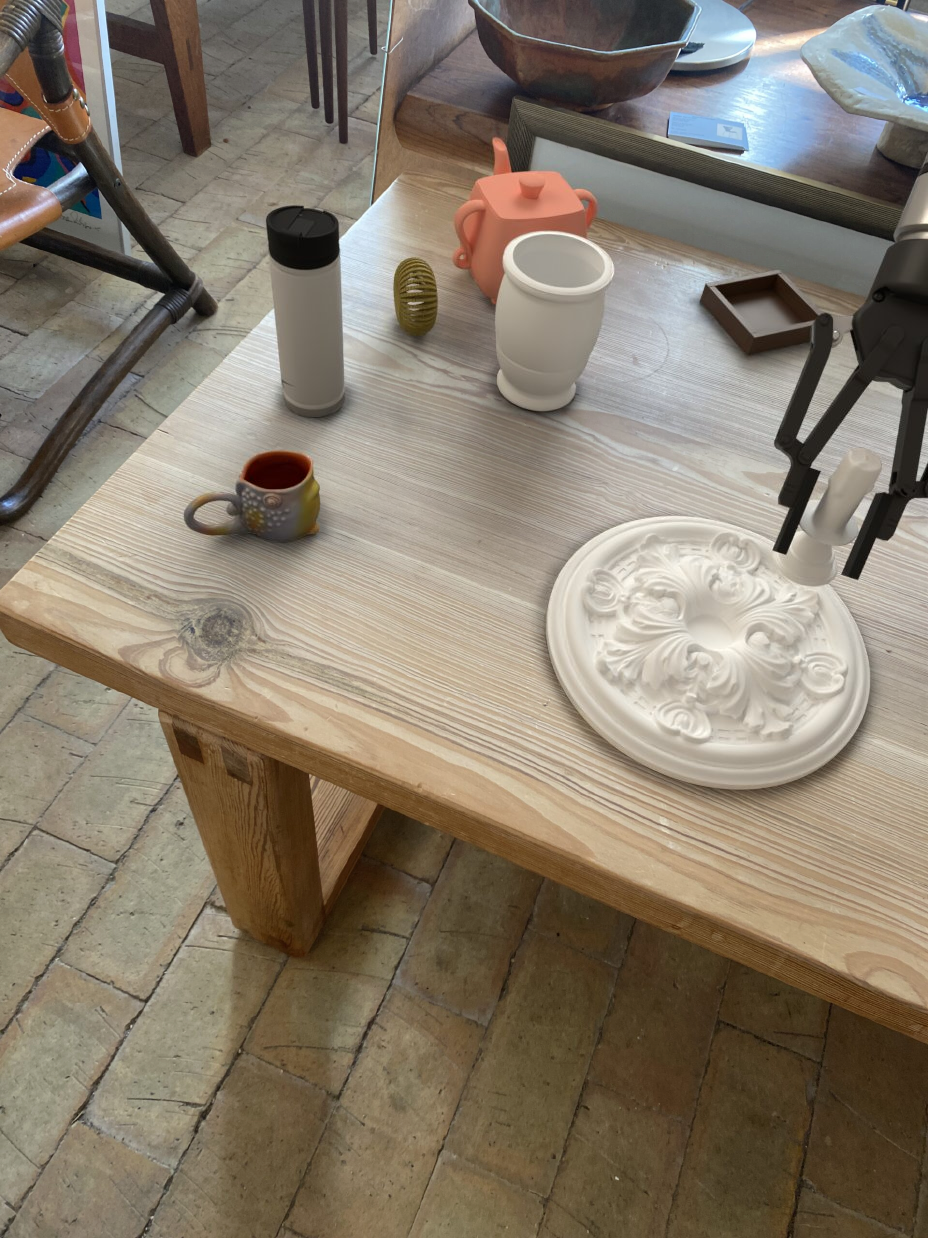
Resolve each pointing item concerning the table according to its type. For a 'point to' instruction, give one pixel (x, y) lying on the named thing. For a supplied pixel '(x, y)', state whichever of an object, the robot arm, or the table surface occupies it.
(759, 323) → the tray
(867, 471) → the candle
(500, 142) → the teapot
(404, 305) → the sculpture
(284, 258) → the travel mug
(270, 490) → the mug
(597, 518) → the table surface
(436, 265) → the table surface
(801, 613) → the ceiling medallion
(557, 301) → the jar
